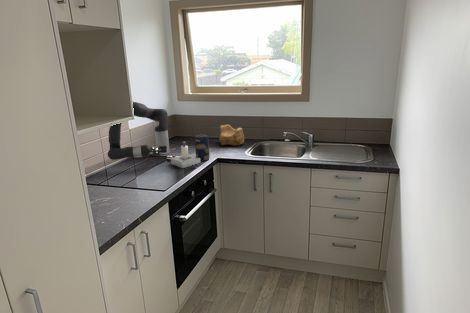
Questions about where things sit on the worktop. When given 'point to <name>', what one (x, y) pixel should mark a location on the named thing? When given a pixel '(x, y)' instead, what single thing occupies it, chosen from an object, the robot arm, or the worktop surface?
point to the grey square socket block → (185, 161)
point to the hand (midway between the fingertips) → (166, 149)
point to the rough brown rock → (231, 135)
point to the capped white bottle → (184, 151)
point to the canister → (202, 146)
